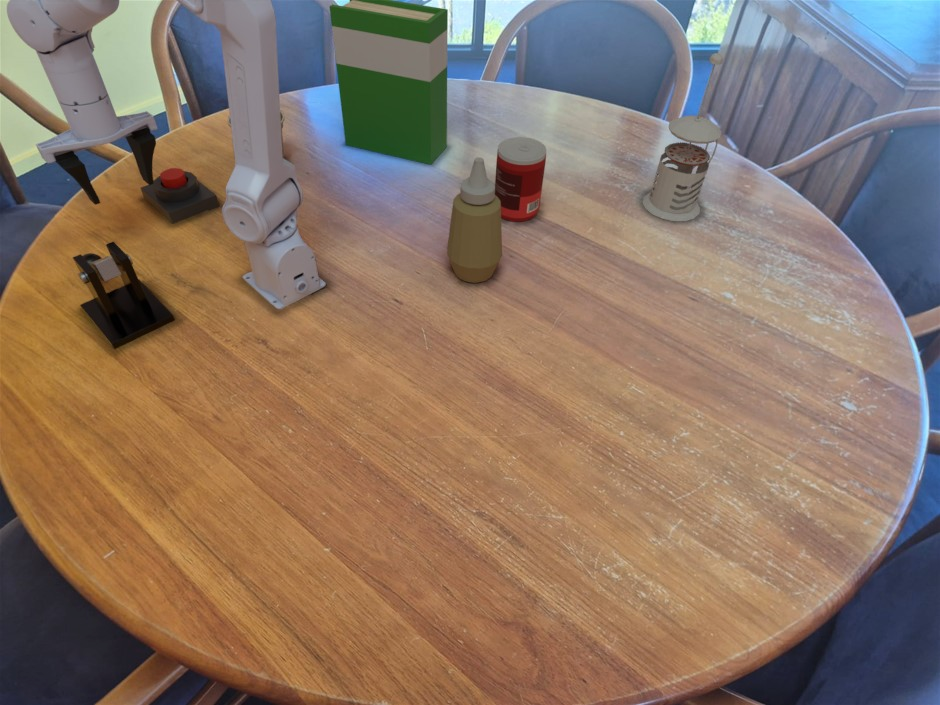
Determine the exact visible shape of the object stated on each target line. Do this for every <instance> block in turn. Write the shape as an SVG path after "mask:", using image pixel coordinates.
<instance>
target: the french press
mask: <svg viewBox="0 0 940 705" xmlns="http://www.w3.org/2000/svg"><path fill="white" fill-rule="evenodd" d="M723 60H724V57H723V55H722V54H721V53H718V52H715V53H713V54H711V55H710V57H709V60H708V63H710V64H712V69H711V72H710V75H709V78H708V83H707V85H706V89H705V92H704V95H703V97H702V98H703V99H702V101H701V105H700V108H699V111H698V113H697V114H698V115H692V114H691V115H685V116H681V117H676V118H673V119H672V120H671V121H669V123H668V130H669V131H670V133H671V135H673V136H674V137H675V138H677V139H678V140H681V141H682V142H673V143H670V144H668V145H666V146H665V148H664V152H663V153H662V154H661V155H660V157H659V162H658V165H657V169H656V173H655V176H654V180H653V182H652V188H651V191H649V192H648V193H647V194H644V196H643V198H642V201H641V203H642V205H643V207H644V209H645V210H646V211H647V212H649V213H650V215H653V216H655V217H657V218H660V219H662V220H667V221H671V222H687V221H690V220H694V219H695V218H697V217H698V216H699V215H700V211H701V207H700V205H699V203H698V200H699V196H700V193H701V190H702V187H703V183H704V181H705V179H706V175H707V172H708V170H709V166H710V164H711V161H712V160H713V158H714V156H715V154H716V151H717V148H718V144H719V143H718V142H719V141H718V140H719V139H720V138H721V136H722V131H721V129H720V127H719V126H718V125H717V124H716V123H715V122H712V121H711V120H709V119H708V118H706V117H703V116H701V113H702V109H703V106H704V103H705V99H706V96H707V93H708V89H709V86H710V83H711V80H712V77H713V73H714V71H715V67H716V65H722V64H723ZM683 141H684V142H683ZM714 142H715V147H714V149H713V151H712V154H711V155H710V153H709V152H708V148H709V144H711V143H714ZM698 144H699V145H705V148H704V147H701V146H699V145H698ZM665 159H667V160H665ZM663 160H665V161H663ZM667 164H668V165H674V166H676V167H677V168H675V167H672V166H666V165H667ZM696 167H697V169H696V171H695V173H693V170H694V169H695V168H696ZM689 186H691V187H690V188H688V187H689Z"/></svg>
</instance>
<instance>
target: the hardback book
mask: <svg viewBox="0 0 940 705" xmlns="http://www.w3.org/2000/svg"><path fill="white" fill-rule="evenodd" d="M329 14H330V23H331V24H330V25H331V30H332V32H331V33H332V39H333V47H334V48H333V49H334V58H335V66H336V74H337V81H338V92H339V100H340V107H341V115H342V116H341V117H342V124H343V125H342V126H343V133H344V140H345V141H344V142H345V143H344V144H345V146H348V147H352V148H356V149H357V148H358V149H360V150H361V149H362V150H364V151H365V150H366V151H370V152H374V153H378V154H383V155H388V156H392V157H395V158H399V159H404V160H409V161H413V162H418V163H421V164H426V165H430V166H431V165H433V163H434V162H435V161H436V160H437V159H438V158H439V157H440V155H441V154H442V153H443V152H445V150H446V148H447V146H448V138H447V137H448V35H449V34H448V33H449V32H448V30H449V29H448V26H449V24H448V21H449V19H448V16H449V10H448V9H447V8H443V7H442V8H441V7H436V6H429V5H424V4H418V3H412V2H405V1H399V0H349V1H348V2H347V3H345V4H344V5H338V4H331V5H330V4H329Z"/></svg>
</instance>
